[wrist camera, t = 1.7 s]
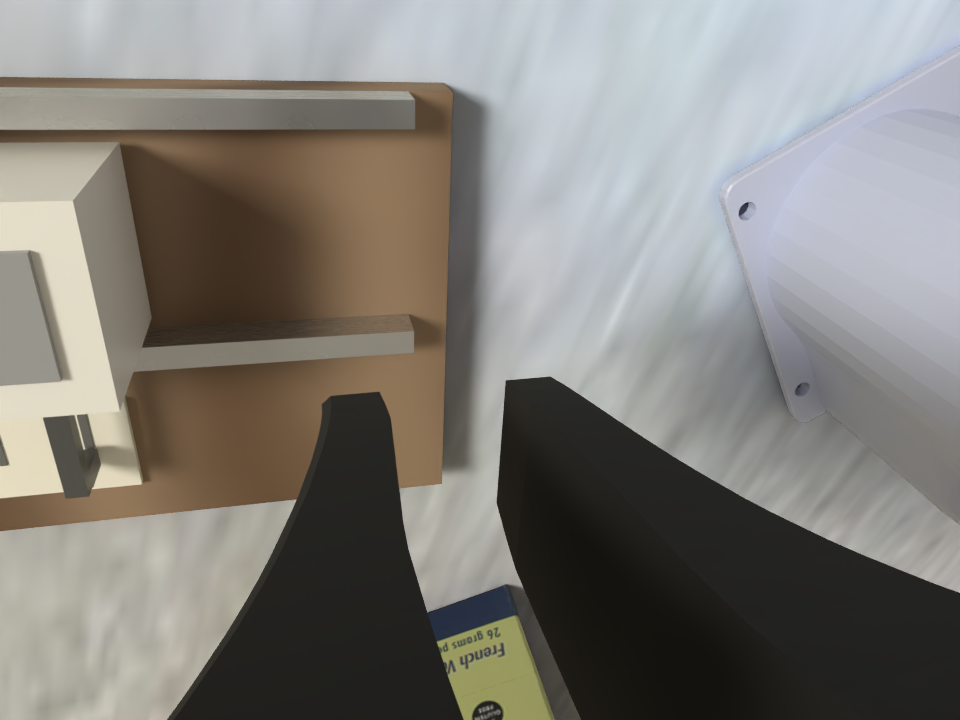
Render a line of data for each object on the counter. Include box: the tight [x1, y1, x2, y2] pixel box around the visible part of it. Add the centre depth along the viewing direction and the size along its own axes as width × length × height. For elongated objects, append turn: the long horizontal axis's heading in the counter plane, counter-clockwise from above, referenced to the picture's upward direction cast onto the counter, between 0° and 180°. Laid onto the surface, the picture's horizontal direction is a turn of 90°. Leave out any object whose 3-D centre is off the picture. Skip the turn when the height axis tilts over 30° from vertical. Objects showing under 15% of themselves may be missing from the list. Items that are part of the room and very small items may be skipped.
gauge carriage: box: [0, 142, 152, 499], centre depth 15 cm, size 4×8×4 cm, turn 178°
